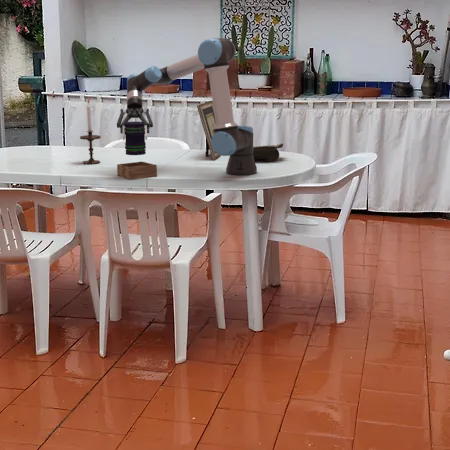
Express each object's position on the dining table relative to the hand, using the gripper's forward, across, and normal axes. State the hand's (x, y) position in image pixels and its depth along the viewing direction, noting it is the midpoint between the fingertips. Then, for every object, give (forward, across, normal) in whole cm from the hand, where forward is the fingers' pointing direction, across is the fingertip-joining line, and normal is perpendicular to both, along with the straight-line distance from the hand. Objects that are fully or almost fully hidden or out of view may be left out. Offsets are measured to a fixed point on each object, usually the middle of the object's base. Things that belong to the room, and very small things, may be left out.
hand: (134, 138), depth 354 cm
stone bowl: (-18, -66, -45) cm, 82 cm away
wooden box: (+11, 0, -15) cm, 19 cm away
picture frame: (-30, -41, -57) cm, 77 cm away
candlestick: (-20, +25, -47) cm, 57 cm away
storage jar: (+4, 0, -8) cm, 9 cm away
